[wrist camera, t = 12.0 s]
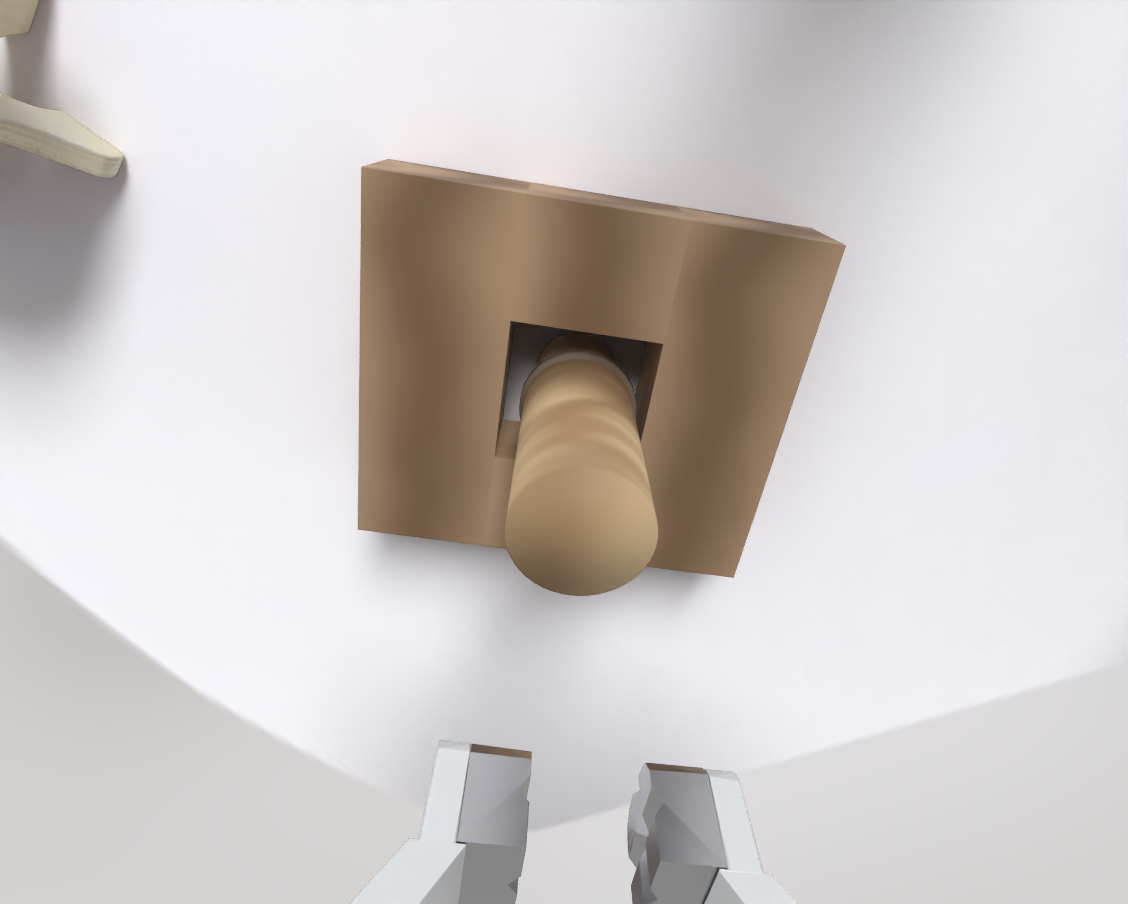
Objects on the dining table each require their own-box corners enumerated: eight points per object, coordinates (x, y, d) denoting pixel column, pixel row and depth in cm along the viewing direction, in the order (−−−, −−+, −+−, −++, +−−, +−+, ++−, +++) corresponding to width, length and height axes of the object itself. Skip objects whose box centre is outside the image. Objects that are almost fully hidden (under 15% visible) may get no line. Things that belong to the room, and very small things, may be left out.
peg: (636, 330, 27) (680, 475, 16) (617, 424, 29) (645, 609, 18) (532, 315, 27) (508, 451, 16) (520, 411, 29) (490, 589, 18)
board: (811, 228, 25) (846, 245, 22) (717, 531, 32) (733, 577, 28) (388, 159, 24) (361, 166, 21) (379, 486, 31) (358, 529, 27)
